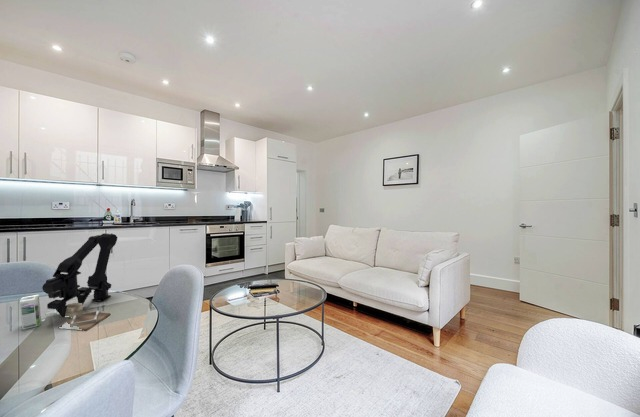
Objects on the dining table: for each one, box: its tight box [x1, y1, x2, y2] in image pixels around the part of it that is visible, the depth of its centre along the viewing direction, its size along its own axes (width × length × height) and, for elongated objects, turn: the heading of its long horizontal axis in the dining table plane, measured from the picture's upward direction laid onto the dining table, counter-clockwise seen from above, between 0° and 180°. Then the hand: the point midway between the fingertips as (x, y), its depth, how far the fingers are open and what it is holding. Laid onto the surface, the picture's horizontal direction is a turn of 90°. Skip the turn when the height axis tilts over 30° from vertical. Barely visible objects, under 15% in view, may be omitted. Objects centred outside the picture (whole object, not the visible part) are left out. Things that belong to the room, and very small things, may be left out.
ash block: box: [65, 302, 84, 317], centre depth 137 cm, size 6×6×5 cm
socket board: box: [57, 309, 111, 332], centre depth 132 cm, size 14×14×2 cm
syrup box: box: [19, 293, 42, 331], centre depth 125 cm, size 6×6×14 cm
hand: (71, 312), depth 137 cm, fingers open, 9 cm apart
